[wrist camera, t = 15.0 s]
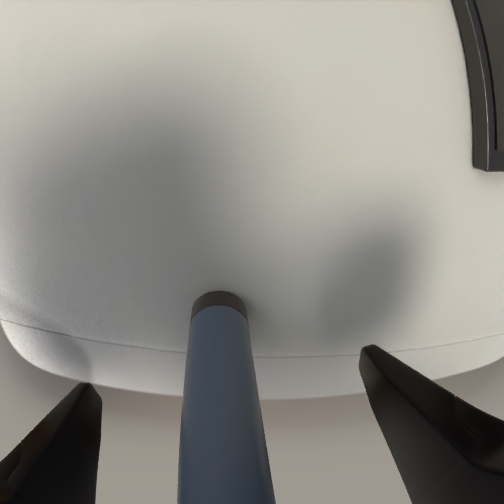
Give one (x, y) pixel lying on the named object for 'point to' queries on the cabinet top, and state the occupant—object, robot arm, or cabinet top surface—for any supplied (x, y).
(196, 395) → the stylus
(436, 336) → the cabinet top surface
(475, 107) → the tablet
